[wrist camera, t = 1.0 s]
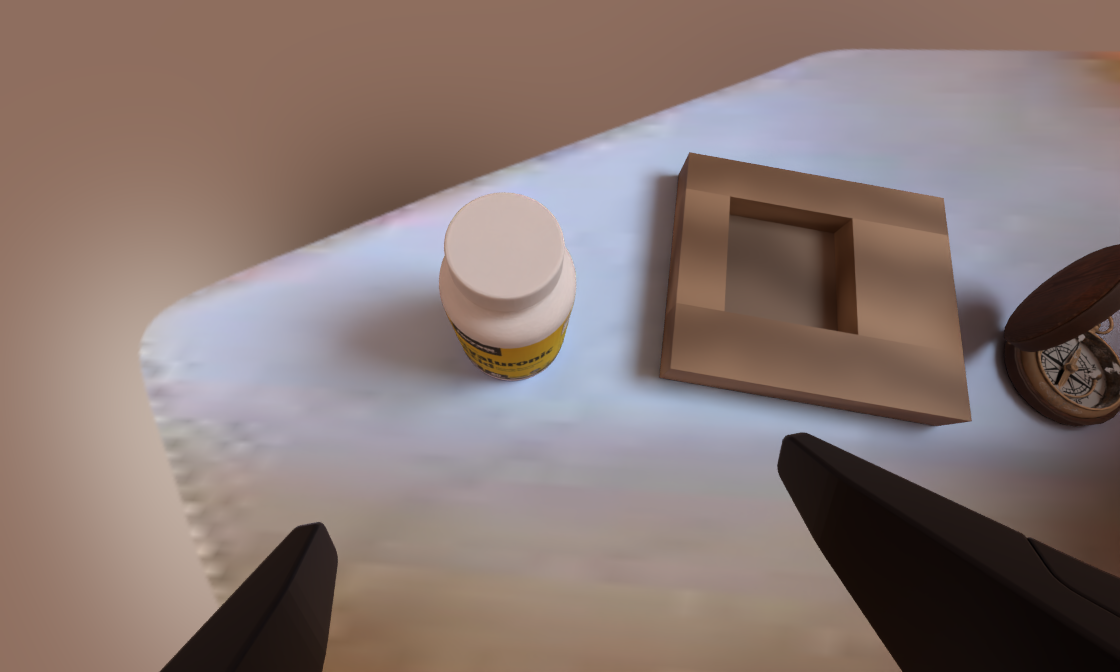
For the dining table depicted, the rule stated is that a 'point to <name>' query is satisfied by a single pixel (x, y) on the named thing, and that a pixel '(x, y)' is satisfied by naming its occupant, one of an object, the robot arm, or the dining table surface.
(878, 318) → the socket board
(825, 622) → the dining table surface
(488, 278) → the supplement bottle
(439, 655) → the dining table surface
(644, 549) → the dining table surface
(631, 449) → the dining table surface
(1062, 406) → the compass
